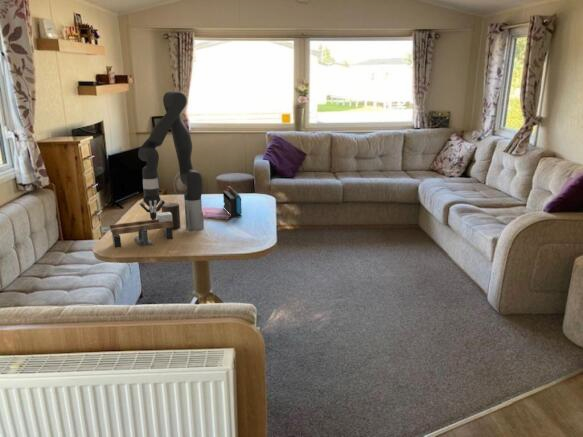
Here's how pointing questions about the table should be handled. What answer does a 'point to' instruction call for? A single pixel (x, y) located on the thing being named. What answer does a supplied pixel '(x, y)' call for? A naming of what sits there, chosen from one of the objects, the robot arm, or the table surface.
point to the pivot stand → (142, 237)
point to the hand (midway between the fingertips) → (153, 219)
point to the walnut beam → (138, 226)
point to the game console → (232, 202)
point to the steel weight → (164, 217)
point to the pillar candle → (173, 213)
